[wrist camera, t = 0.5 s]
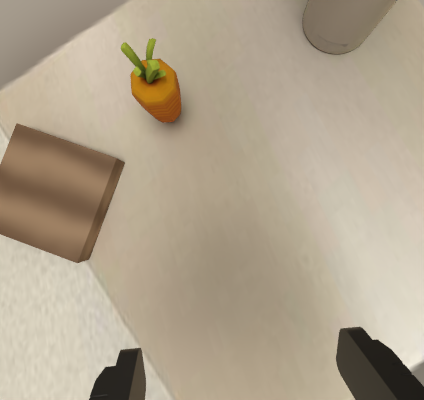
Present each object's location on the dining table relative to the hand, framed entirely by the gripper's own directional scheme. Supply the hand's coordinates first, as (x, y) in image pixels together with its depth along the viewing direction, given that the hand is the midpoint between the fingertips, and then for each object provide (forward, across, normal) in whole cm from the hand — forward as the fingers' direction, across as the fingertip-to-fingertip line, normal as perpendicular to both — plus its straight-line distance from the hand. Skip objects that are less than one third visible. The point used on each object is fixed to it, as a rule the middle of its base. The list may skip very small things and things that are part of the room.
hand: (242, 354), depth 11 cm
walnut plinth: (+30, +20, +1) cm, 36 cm away
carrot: (+32, +4, -9) cm, 33 cm away
